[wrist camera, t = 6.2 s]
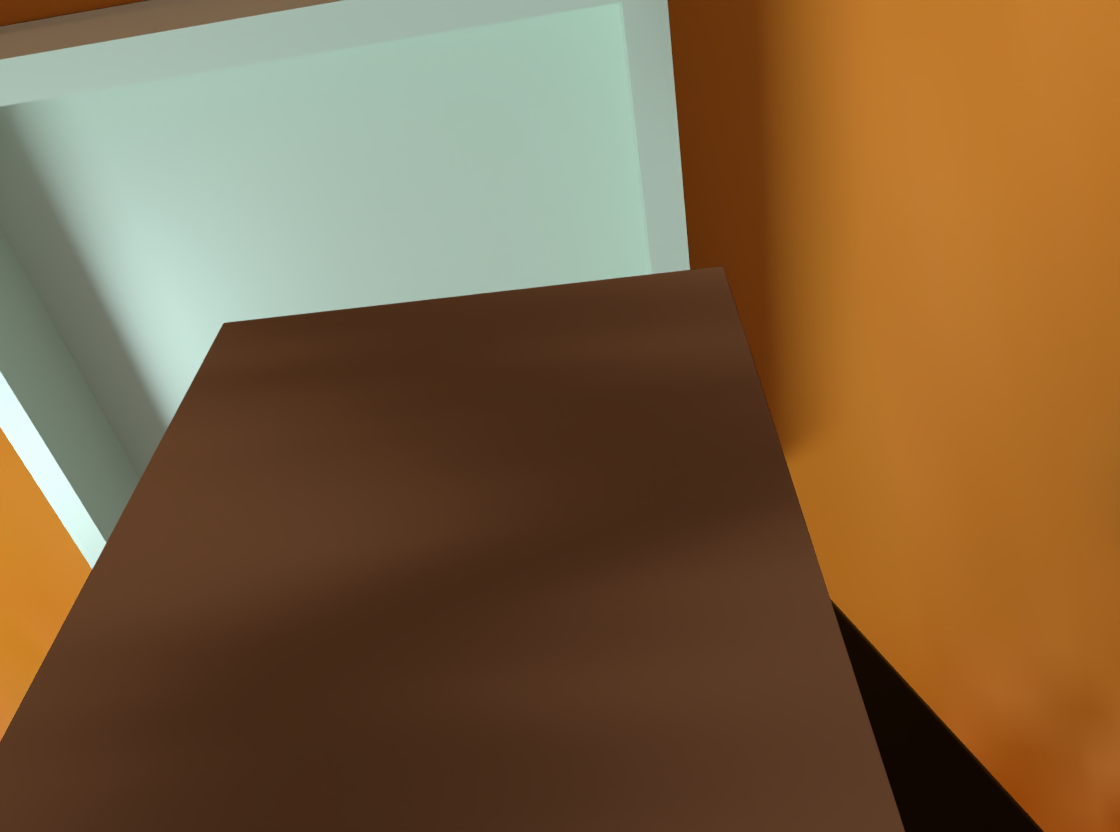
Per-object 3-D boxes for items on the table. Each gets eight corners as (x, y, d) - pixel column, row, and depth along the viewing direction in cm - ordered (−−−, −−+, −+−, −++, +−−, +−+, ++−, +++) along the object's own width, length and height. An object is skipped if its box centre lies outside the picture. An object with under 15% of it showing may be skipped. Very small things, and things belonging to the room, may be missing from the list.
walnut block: (722, 266, 9) (1006, 1150, 3) (729, 610, 12) (888, 1387, 6) (223, 322, 9) (-253, 1216, 4) (349, 645, 12) (188, 1413, 7)
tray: (646, -88, 16) (663, -55, 14) (701, 512, 25) (717, 596, 23) (-109, 45, 18) (-213, 96, 15) (187, 572, 26) (150, 658, 24)
